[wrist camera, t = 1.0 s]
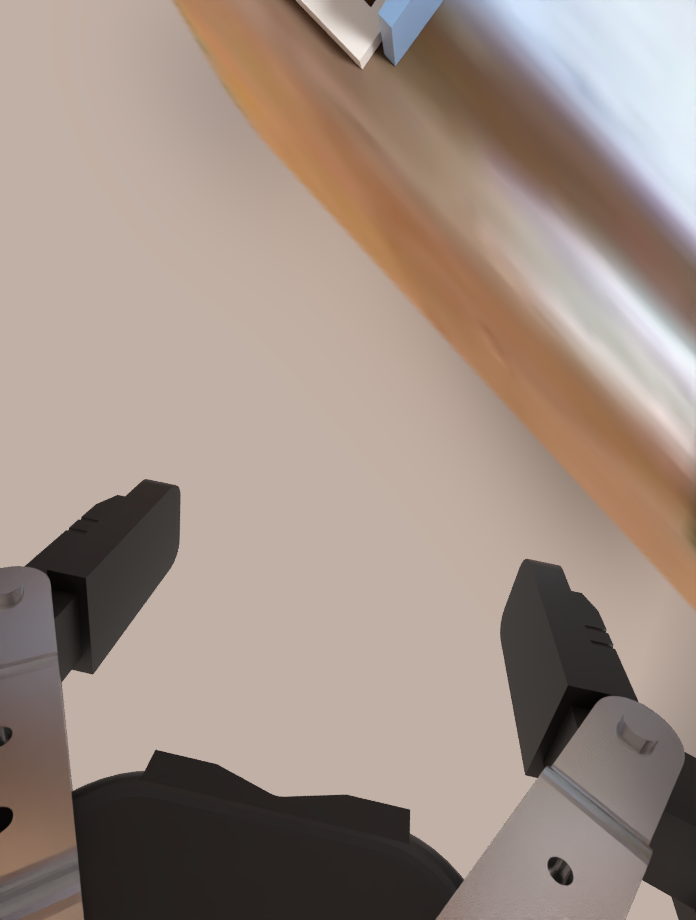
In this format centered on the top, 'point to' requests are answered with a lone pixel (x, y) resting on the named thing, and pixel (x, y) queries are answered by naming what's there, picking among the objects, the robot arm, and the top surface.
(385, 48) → the white prong rack
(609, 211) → the top surface
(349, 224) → the top surface
